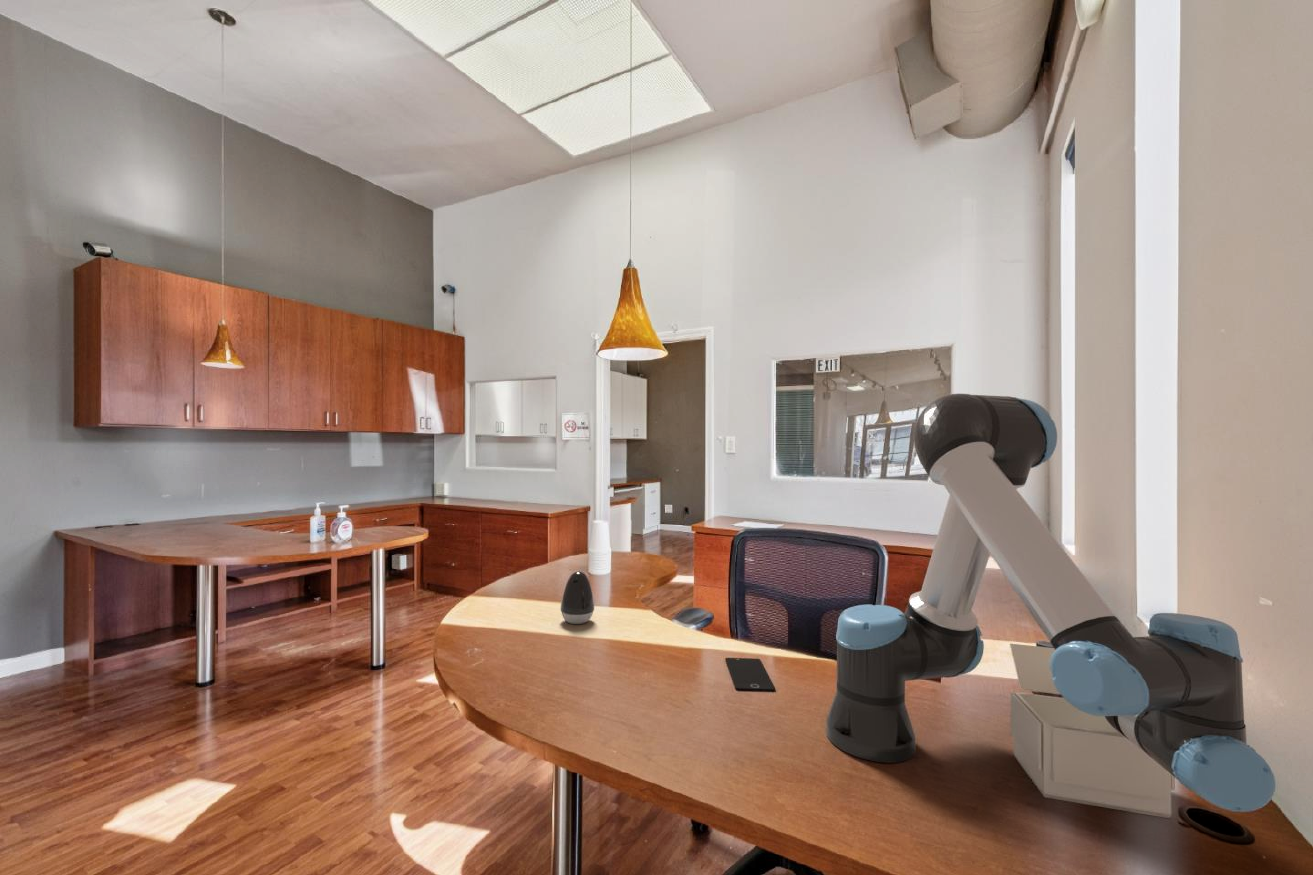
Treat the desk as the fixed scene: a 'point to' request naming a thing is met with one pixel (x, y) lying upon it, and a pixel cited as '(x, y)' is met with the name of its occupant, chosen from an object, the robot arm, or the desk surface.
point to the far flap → (1033, 668)
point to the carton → (1085, 758)
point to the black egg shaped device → (577, 599)
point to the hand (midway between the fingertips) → (1066, 662)
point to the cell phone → (749, 675)
